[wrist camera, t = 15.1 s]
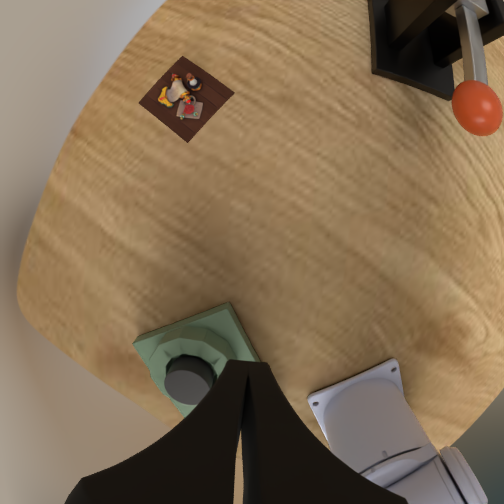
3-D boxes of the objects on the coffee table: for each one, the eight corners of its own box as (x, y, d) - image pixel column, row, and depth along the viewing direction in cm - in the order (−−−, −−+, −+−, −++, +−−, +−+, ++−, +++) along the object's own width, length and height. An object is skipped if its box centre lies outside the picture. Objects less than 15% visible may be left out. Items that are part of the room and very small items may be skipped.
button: (221, 383, 18) (218, 399, 16) (184, 393, 18) (179, 409, 17) (200, 349, 17) (195, 364, 16) (162, 361, 18) (155, 376, 16)
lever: (478, 143, 11) (513, 143, 8) (440, 127, 11) (475, 123, 8) (463, -1, 8) (486, -16, 5) (427, -20, 8) (448, -40, 5)
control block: (282, 401, 21) (284, 426, 18) (198, 423, 22) (193, 447, 19) (229, 301, 20) (224, 320, 17) (137, 336, 20) (122, 355, 17)
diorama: (182, 67, 16) (174, 54, 14) (221, 95, 17) (217, 84, 15) (153, 98, 17) (142, 88, 15) (190, 127, 17) (182, 120, 15)
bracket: (448, 101, 16) (533, 70, 6) (371, 73, 16) (442, 7, 6) (437, 18, 14) (495, -29, 4) (366, -9, 14) (408, -79, 4)
